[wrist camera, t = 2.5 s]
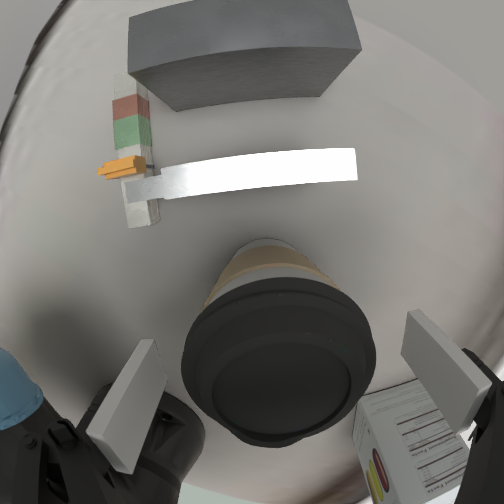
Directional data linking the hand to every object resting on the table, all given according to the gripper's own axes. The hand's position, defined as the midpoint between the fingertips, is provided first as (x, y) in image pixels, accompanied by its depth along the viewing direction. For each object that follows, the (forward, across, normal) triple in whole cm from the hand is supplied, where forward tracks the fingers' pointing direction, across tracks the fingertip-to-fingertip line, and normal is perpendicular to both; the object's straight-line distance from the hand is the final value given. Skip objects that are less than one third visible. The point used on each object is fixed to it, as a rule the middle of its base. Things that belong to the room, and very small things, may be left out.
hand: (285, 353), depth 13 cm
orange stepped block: (+8, -10, +10) cm, 16 cm away
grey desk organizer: (+12, -3, +12) cm, 17 cm away
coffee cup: (+12, 0, 0) cm, 12 cm away
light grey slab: (+11, -3, +9) cm, 14 cm away
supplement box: (+12, +14, -21) cm, 28 cm away
